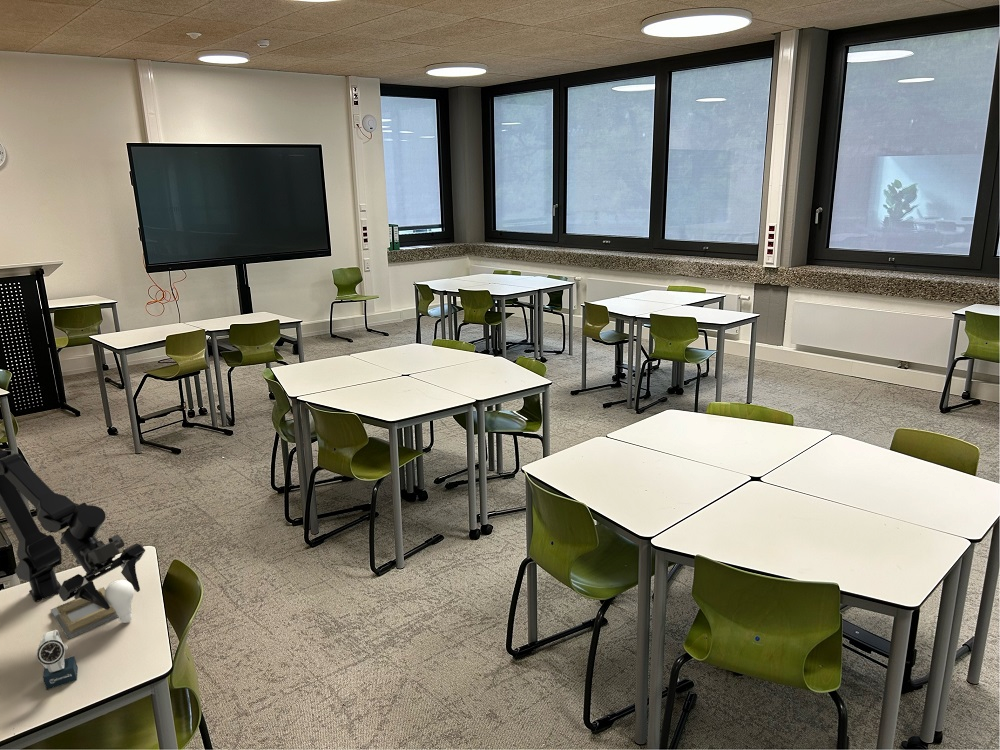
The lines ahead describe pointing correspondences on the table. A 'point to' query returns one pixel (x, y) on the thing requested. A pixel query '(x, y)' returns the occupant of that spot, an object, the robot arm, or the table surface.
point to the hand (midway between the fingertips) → (124, 599)
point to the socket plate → (81, 615)
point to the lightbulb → (120, 598)
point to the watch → (56, 661)
